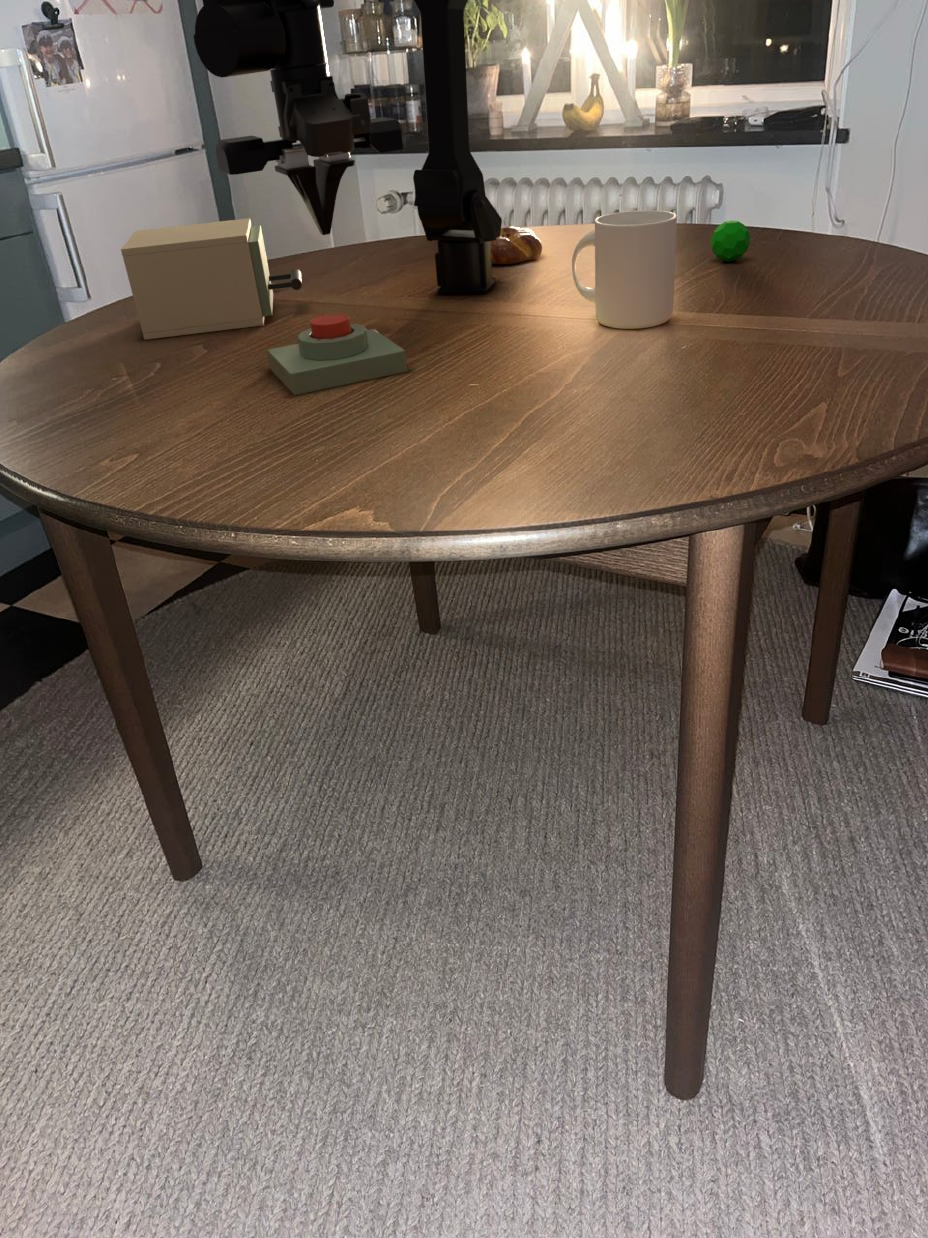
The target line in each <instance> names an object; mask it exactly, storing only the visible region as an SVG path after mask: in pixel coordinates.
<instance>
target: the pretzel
mask: <svg viewBox="0 0 928 1238" xmlns="http://www.w3.org/2000/svg"><path fill="white" fill-rule="evenodd" d="M490 248H491V264H492V265H511V264H519V263H522V262H525V261H527V260H528V261H529V260H535V259H538V257H540V256H541V254H542V252H543V245H542V242H541V240H540V238H538V237H537V236H536V234H535V232H534V231H533V230H532V229H530V228H526V227H525V228H520V227H516V226H514V225H512V226H505V227H501V233H500V237H497V238H496V240H495V241H490Z"/></svg>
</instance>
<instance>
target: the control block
mask: <svg viewBox="0 0 928 1238" xmlns="http://www.w3.org/2000/svg"><path fill="white" fill-rule="evenodd" d="M350 325H351V332H352V333H351V334H349V335H347V336H344V337H339V338H333V339H314V338H313V337H312V331H311V327H310V328H308V329H305V330H302V331H301V332H300V333H299V334H298V335H297V337H296V339H297V343H294V344H288V345H284V346H279V347H273V348H268V349H266V353H267V358H268V364H269V368H270V369H269V370H270V371H271V372H272V373H273V374H274V375H275V376H276V377H277V378H278V379H279V381H280V382H282V384H283V385H284V386H285V387H286V388H287V389H288V390H289V391H290V392H291V393H292V395H293V396H298V395H303V394H307V393H311V392H317V391H322V390H326V389H327V390H328V389H331V388H335V387H341V386H345V385H350V384H355V383H360V382H364V381H369V380H375V379H378V378H383V377H387V376H393V375H397V374H402V373H406V372H408V364H407V355H406V350H405V349H403V348H402V347H401V346H399V345H398V344H396V343H395V342H393V341H392V340H391V339H389V338H387V337H386V336H384V335H383V334H381V333H380V332H379V331H377V330H376V329H374V328H371V329H367V328H366V327H365V326H364V325H362V324H358V323H353V322H352V323H351V322H350Z"/></svg>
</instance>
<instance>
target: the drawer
mask: <svg viewBox="0 0 928 1238" xmlns="http://www.w3.org/2000/svg"><path fill="white" fill-rule="evenodd" d="M248 243H249V249H250V254H251V259H252V264H253V269H254V275H255V280H256V285H257V290H258V296H259V301H260V306H261V311H262V316H263V317H264V318H265V317H272V316H273V309H274V307H273V306H274V290H278V289H285V288H287V289H288V288H292V290H294V291H299V290H300V289H302V287H303V278H302V271H300V269H298V268H294V269H292V270H291V271H290V272H287V273H278V274H271V275H270V269H269V264H268V258H267V253H266V247H265V241H264V236H263V231H262V225H260V224H259V225H251V231H250V236H249V242H248ZM282 280H283V281H282ZM284 280H290V281H284ZM274 281H281V282H274ZM272 282H274V283H272Z"/></svg>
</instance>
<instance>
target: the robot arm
mask: <svg viewBox="0 0 928 1238" xmlns="http://www.w3.org/2000/svg"><path fill="white" fill-rule="evenodd" d="M201 1H202V7H201V8H200V9H199V11H198V13H197V16H196V18H195V24H194V34H193V41H194V46H195V49H196V53H197V55H198V57H199V60H200V61H201V63H202V65H203V66H204V68H205V69H206V70H207V71H208V72H209V73H210V74H212V75H213V76H214V77H217V78H228V77H229V78H230V77H237V76H243V75H249V74H256V73H263V72H269V71H270V77H271V80H270V81H269V82H270V87H271V92H272V93H273V96H274V101H275V106H276V113H277V118H278V125H279V126H277V128H278V133H279V138H280V139H275V140H267V141H264V140H263V138H262V137H260V136H255V135H244V136H238V137H229V138H223V139H219V140H218V142H217V144H216V146H215V154H216V160H217V163H218V164H217V165H218V169H219V171H221V172H223V173H225V174H227V175H230V176H235V175H243V174H249V173H255V172H263V170H264V169H265V167H266V166H267V164H268V162H273V161H275V162H276V163H277V165H274V170H275V172H276V173H279V174H282V175H284V176H287V177H288V179H289V181H290V182H291V183H292V185H293V186H294V188H295V189H296V191H297V193H298V194H299V195H300V197H301V199H302V201H303V203H304V205H305V206H306V209H307V210H308V212H309V214H310V216H311V218H312V220H313V222H314V223H315V226H316V227H317V229H318V231H319V233H320V234H321V235H322V236H326V235H330V234H331V233H332V228H333V227H332V226H333V219H334V213H335V208H336V202H337V201H336V200H337V195H338V191H339V187H340V183H341V181H342V178H343V176H344V174H345V172H346V170H347V169H348V168H350V167H354V166H355V165H356V160H355V159H352V158H351V155H350V154H351V152H353V151H355V149H361V150H362V149H370V148H373V149H374V150H375V151H376V152H377V153H379V154H381V153H387V152H388V153H389V152H394V151H401V150H405V149H407V143H406V134H405V133H406V132H405V130H404V127H403V125H402V123H401V122H400V121H399V120H398V119H397V118H392V117H391V118H390V117H383V116H381V117H373V118H372V117H371V109H370V103H369V97H368V96H367V95H366V94H365V93H364V92H363V91H359V92H352V93H351V92H350V93H346V94H345V95H344V98H339V96H338V94H337V91H336V85H335V82H334V77H333V75H330V70H329V63H328V55H327V49H326V41H325V36H324V35H325V34H324V29H323V28H324V27H323V21H322V14H321V10H323V9H331V8H334V6H335V1H334V0H201ZM412 1H413V3H414V4H415V6H416V8H417V10H418V11H419V16H420V30H421V45H422V46H421V48H422V65H423V80H424V95H425V97H424V98H425V113H426V128H427V129H426V131H427V132H426V133H427V145H428V146H427V147H428V153H427V156H426V158H425V161H424V162H423V165H422V167H421V169H415V170H413V171H414V172H413V176H412V181H413V186H414V203H413V206H414V207H416V210H417V215H418V218H419V220H420V222H421V225H422V229H423V231H424V235H425V237H426V240H427V242H433V241H437V252H436V253H435V254H434V262H435V274H436V284H437V286H438V287H439V288H438V289H437V294H439V295H441V294H443V295H444V294H446V295H447V294H484V293H486V292H488V291H489V290H490V289H491V288H492V287H493V285H494V284H496V282H497V277H493V266H492V265H493V264H491V248H490V241H495V240H496V238H497V237H500V233H501V229H502V224H503V219H502V217H501V215H500V214H499V213H498V211H497V210H496V208H495V207H494V206H493V204H492V202H491V201H490V200H489V199H488V197H487V196H486V188H485V187H486V186H485V179H484V173H483V172H482V170H481V169H480V166H479V165H478V163H477V162H476V160H475V158H474V155H472V153H471V149H470V135H469V134H470V132H469V109H468V108H469V107H468V85H467V60H466V36H465V35H466V34H465V8H466V7H467V4H468V1H469V0H412ZM309 156H310V157H313V158H315V159H313V161H312V162H313V165H311V164H310V162H309Z"/></svg>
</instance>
